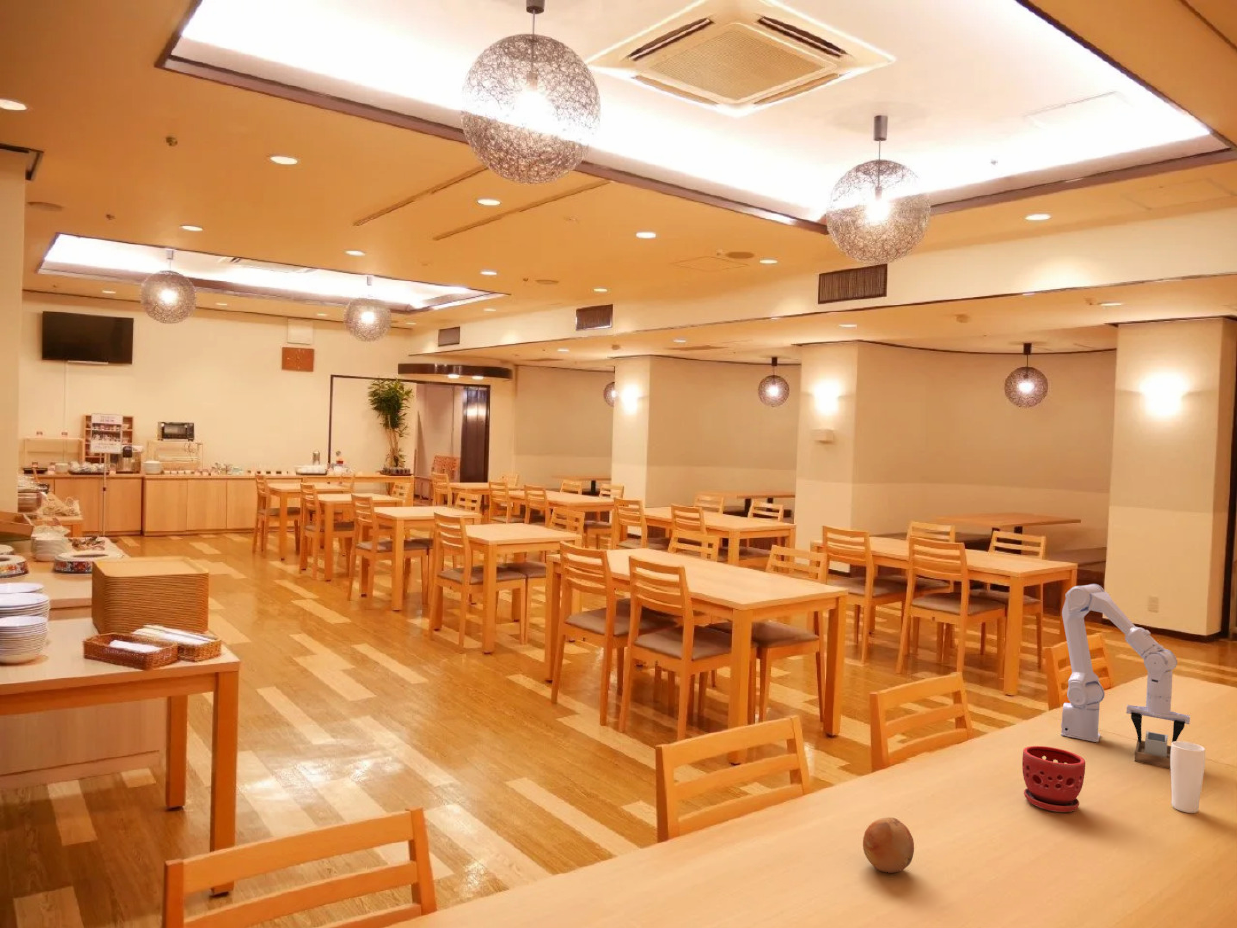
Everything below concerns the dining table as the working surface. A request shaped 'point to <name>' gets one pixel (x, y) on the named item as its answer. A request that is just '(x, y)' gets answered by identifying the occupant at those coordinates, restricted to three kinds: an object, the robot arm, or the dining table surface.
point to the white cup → (1186, 775)
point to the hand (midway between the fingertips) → (1156, 744)
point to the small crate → (1156, 744)
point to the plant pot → (1052, 778)
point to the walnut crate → (1151, 756)
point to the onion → (888, 845)
